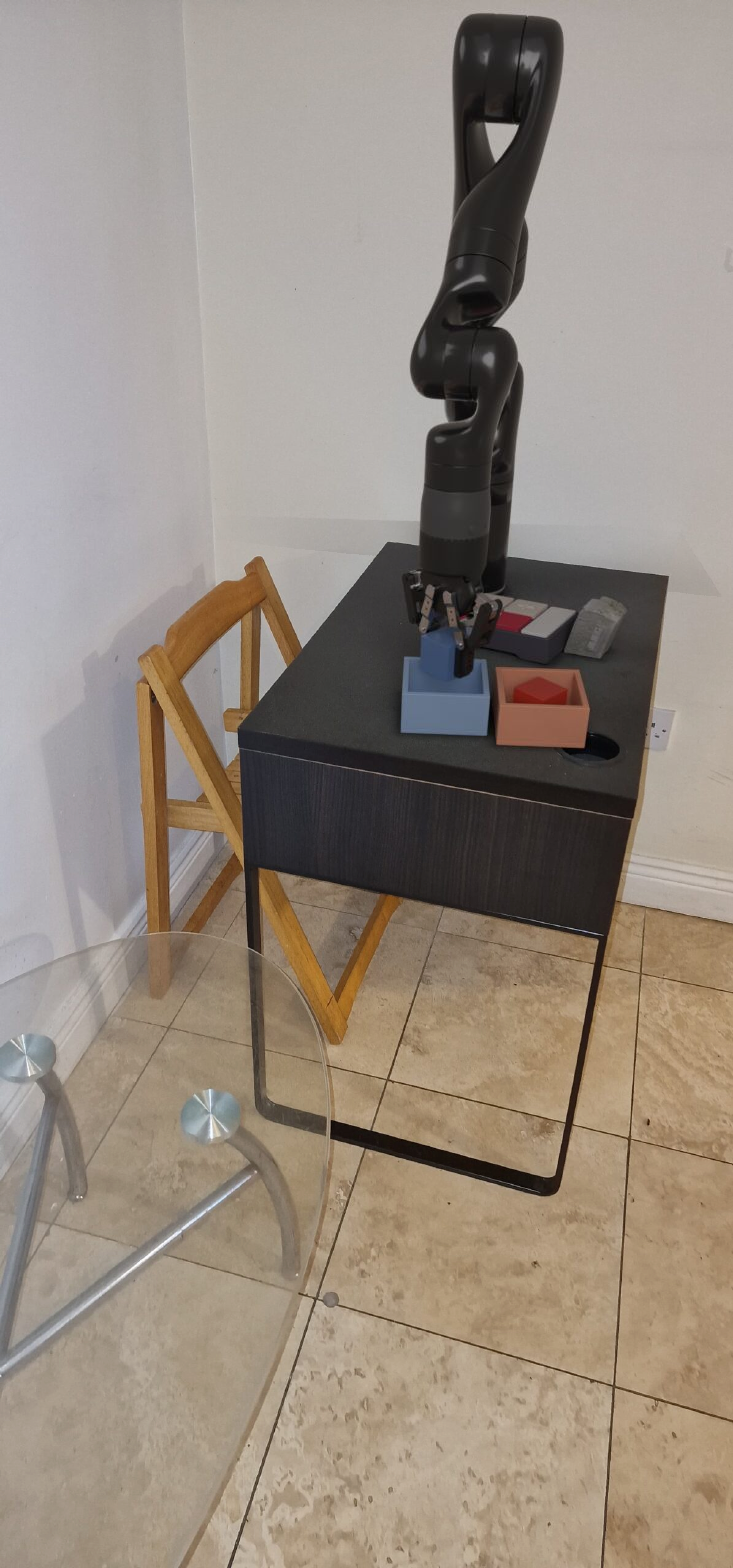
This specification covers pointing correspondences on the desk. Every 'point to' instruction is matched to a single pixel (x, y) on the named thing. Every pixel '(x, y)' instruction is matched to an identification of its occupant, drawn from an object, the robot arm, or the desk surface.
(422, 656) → the blue block
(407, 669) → the blue bin
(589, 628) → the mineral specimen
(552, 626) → the grey tray with pads
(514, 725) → the red bin
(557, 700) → the red block
